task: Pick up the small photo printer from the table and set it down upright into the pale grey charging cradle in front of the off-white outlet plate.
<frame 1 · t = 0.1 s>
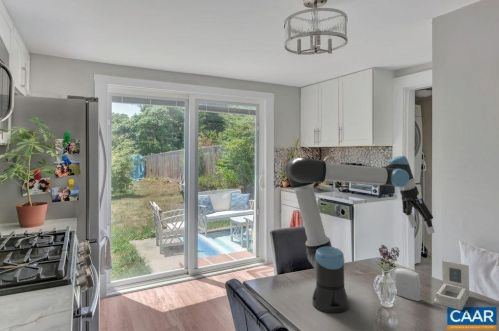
hand: (422, 230, 146), 28 cm above the table, tool tilted 20°, fingers open, 13 cm apart
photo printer: (407, 297, 137), on the table
charging cradle: (451, 300, 134), on the table
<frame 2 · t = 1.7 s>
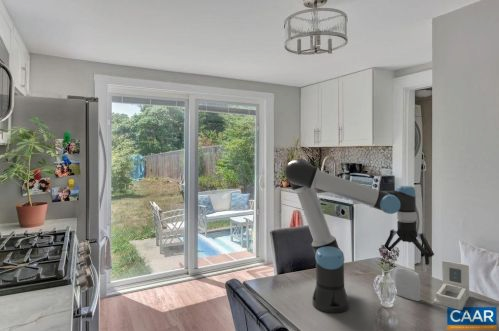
hand: (408, 268, 137), 13 cm above the table, tool pointing down, fingers open, 13 cm apart
nothing on the table moved.
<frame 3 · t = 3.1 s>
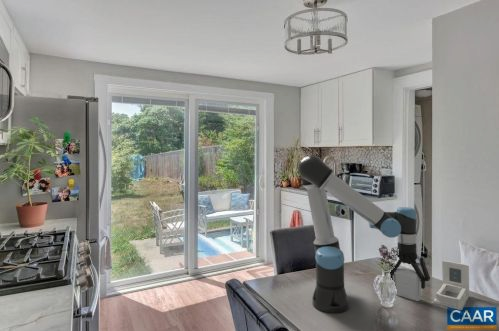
hand: (407, 291, 137), 2 cm above the table, tool pointing down, fingers closed on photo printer, 10 cm apart
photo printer: (407, 297, 137), on the table, touching gripper
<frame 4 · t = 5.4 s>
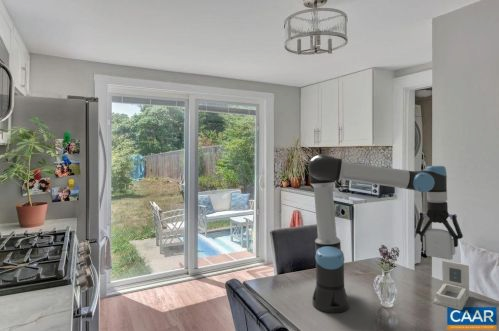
hand: (438, 251, 134), 21 cm above the table, tool pointing down, fingers closed on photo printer, 10 cm apart
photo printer: (439, 257, 134), point 18 cm above the table, touching gripper
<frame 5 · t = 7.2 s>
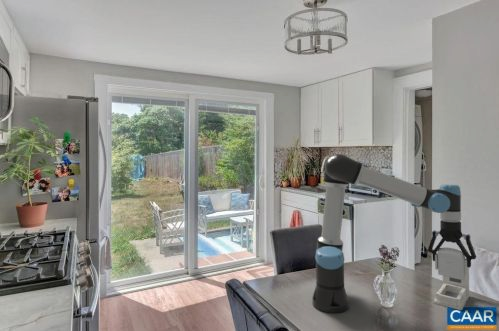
hand: (451, 271, 133), 13 cm above the table, tool pointing down, fingers closed on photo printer, 10 cm apart
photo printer: (451, 277, 133), point 10 cm above the table, touching gripper
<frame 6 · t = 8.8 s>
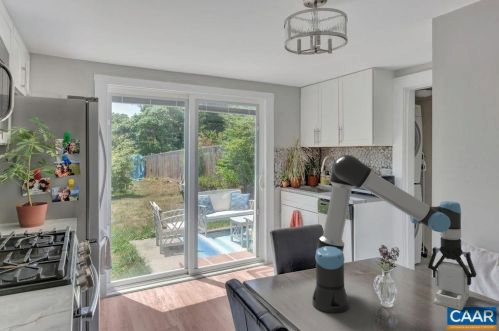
hand: (451, 288, 134), 5 cm above the table, tool pointing down, fingers closed on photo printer, 10 cm apart
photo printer: (451, 291, 133), point 4 cm above the table, touching charging cradle, gripper
when the fingers open (5 cm above the table, at t = 9.1 s): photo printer stays where it is, resting on charging cradle.
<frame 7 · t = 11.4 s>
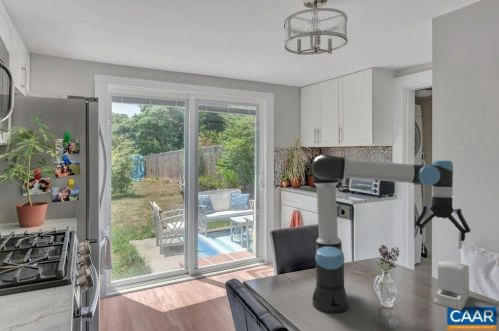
hand: (441, 245, 133), 24 cm above the table, tool pointing down, fingers open, 13 cm apart
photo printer: (451, 291, 133), point 4 cm above the table, touching charging cradle
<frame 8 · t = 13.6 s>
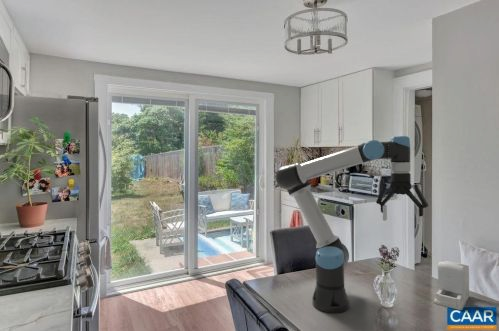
hand: (401, 222, 132), 35 cm above the table, tool pointing down, fingers open, 13 cm apart
nothing on the table moved.
at the end: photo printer inside the target area on the charging cradle (0.1 cm from its centre), point 3.8 cm above the charging cradle's base; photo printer tilted 0°; the gripper is holding nothing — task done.
